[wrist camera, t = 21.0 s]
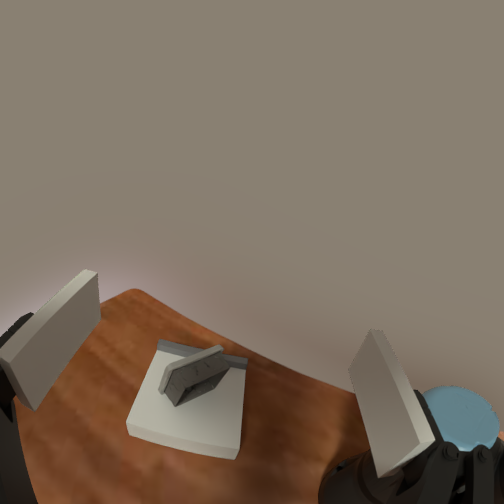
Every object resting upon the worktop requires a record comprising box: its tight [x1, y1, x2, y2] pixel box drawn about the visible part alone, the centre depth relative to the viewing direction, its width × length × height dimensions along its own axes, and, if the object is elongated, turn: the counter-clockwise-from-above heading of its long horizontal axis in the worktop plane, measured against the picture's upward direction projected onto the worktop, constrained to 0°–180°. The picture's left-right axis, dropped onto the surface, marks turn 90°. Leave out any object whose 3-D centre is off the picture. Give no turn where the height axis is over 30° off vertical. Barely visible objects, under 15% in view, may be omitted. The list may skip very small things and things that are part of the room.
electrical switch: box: [158, 345, 230, 407], centre depth 37 cm, size 9×5×9 cm, turn 134°
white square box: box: [126, 339, 248, 460], centre depth 39 cm, size 16×18×6 cm
